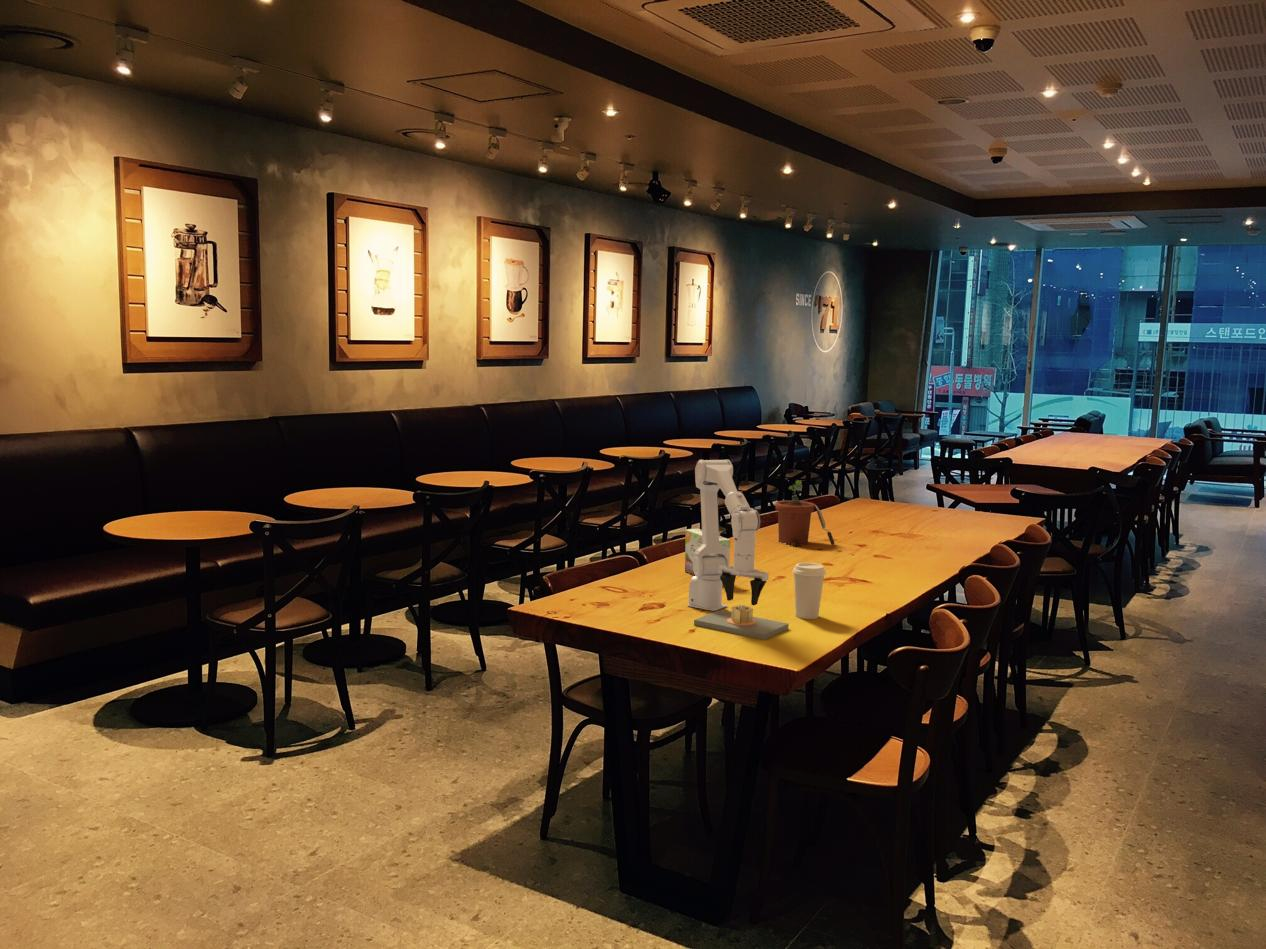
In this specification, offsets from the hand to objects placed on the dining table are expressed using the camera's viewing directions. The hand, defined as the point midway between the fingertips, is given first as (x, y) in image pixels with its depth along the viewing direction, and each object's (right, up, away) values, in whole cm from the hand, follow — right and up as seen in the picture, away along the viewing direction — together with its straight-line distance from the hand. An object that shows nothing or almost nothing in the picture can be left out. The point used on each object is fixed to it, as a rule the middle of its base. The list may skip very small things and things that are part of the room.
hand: (742, 602), depth 278 cm
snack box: (-6, 0, +61) cm, 61 cm away
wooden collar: (0, -5, +1) cm, 5 cm away
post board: (0, -7, +1) cm, 7 cm away
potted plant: (+37, +7, +127) cm, 133 cm away
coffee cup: (+20, -6, +15) cm, 26 cm away
